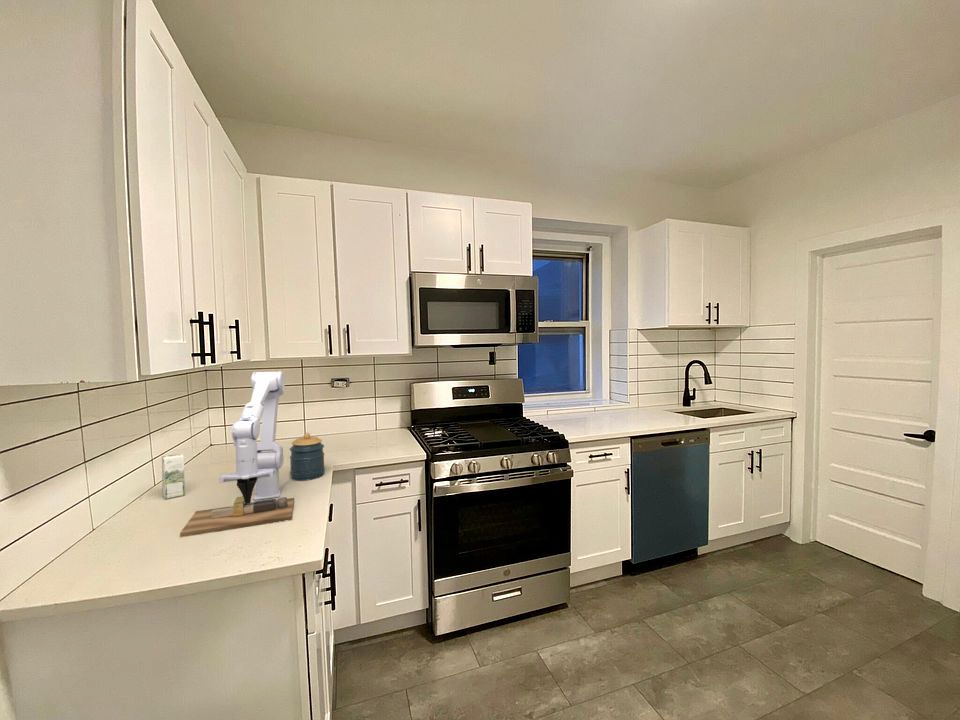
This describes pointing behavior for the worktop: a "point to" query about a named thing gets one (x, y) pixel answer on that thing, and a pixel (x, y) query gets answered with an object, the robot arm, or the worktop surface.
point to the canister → (307, 458)
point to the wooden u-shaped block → (238, 506)
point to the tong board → (238, 518)
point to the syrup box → (173, 476)
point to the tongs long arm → (244, 509)
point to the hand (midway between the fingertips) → (248, 502)
